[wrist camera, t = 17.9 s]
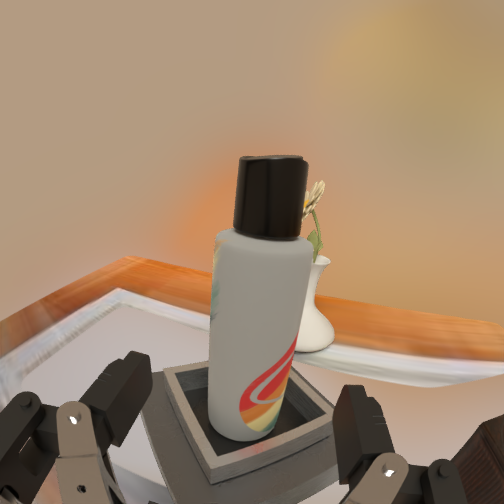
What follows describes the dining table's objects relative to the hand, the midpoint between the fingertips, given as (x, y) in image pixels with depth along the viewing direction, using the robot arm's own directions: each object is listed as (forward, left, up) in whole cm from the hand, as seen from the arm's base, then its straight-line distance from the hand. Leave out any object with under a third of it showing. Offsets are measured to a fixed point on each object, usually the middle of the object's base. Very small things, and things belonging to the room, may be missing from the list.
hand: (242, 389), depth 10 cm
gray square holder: (-6, +4, -17) cm, 18 cm away
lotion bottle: (-6, +4, -11) cm, 13 cm away
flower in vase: (-21, +22, -17) cm, 35 cm away
